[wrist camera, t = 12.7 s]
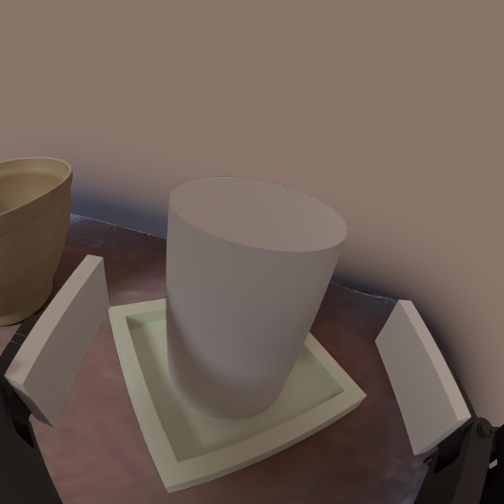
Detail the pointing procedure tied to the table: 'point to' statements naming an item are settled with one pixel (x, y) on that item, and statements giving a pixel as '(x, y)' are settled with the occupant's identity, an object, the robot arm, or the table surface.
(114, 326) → the tray
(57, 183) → the planter bowl
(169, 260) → the white cylinder
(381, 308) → the table surface
